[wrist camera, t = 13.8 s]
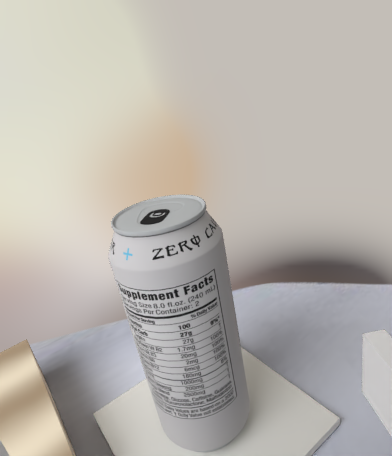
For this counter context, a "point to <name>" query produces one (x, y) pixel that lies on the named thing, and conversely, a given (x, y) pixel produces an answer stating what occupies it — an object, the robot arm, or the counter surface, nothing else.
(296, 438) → the white square plate
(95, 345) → the counter surface
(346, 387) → the counter surface
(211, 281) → the energy drink can
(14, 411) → the socket holder
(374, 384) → the robot arm
